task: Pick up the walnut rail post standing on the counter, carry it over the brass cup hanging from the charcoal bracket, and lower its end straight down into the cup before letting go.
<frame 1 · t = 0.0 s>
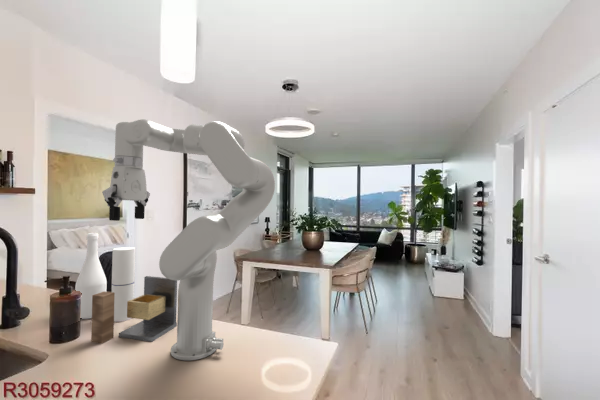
hand: (127, 219, 92), 37 cm above the countertop, tool pointing down, fingers open, 9 cm apart
wine bottle: (90, 315, 111), on the countertop
cylindrical container: (122, 318, 109), on the countertop
cup bracket: (149, 331, 98), on the countertop
rail post: (102, 340, 92), on the countertop
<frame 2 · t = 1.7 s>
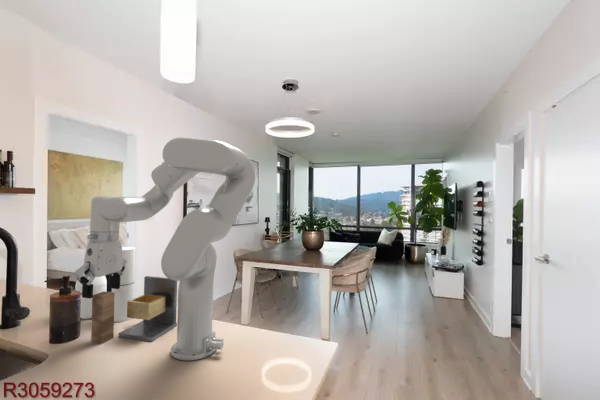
hand: (101, 292, 92), 14 cm above the countertop, tool pointing down, fingers open, 9 cm apart
nothing on the countertop moved.
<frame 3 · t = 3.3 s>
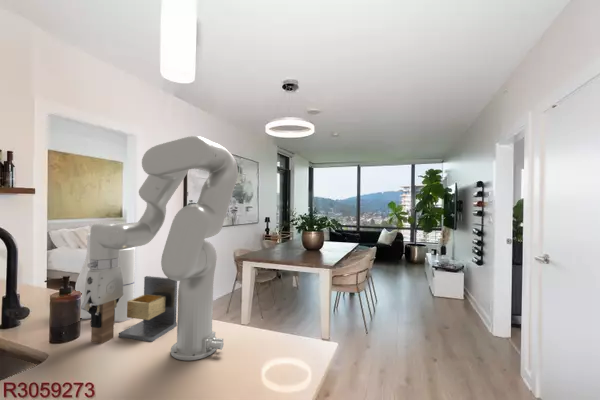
hand: (102, 323, 92), 5 cm above the countertop, tool pointing down, fingers closed on rail post, 4 cm apart
rail post: (102, 340, 92), on the countertop, touching gripper
everything else where it was.
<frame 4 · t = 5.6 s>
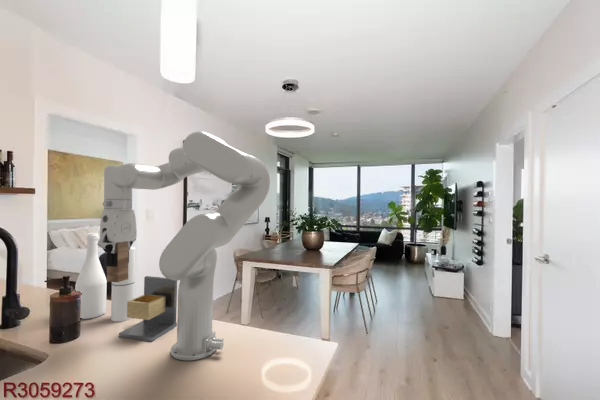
hand: (117, 264, 93), 23 cm above the countertop, tool pointing down, fingers closed on rail post, 4 cm apart
rail post: (117, 280, 93), point 18 cm above the countertop, touching gripper
everything else where it was.
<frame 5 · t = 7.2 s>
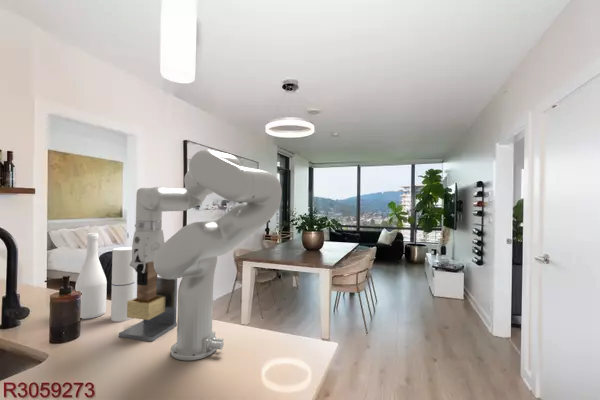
hand: (147, 282, 97), 16 cm above the countertop, tool pointing down, fingers closed on rail post, 4 cm apart
rail post: (146, 297, 97), point 11 cm above the countertop, touching gripper
everything else where it was.
when the fingers open (13 cm above the countertop, at t = 8.1 s): rail post drops 1 cm, resting on cup bracket.
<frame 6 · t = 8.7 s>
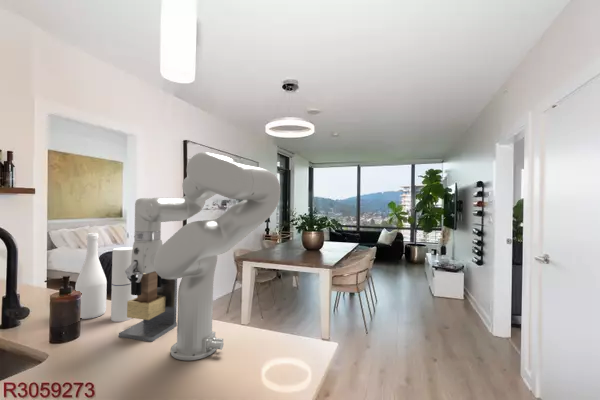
hand: (146, 290, 97), 14 cm above the countertop, tool pointing down, fingers open, 8 cm apart
rail post: (146, 311, 97), point 7 cm above the countertop, touching cup bracket
everything else where it was.
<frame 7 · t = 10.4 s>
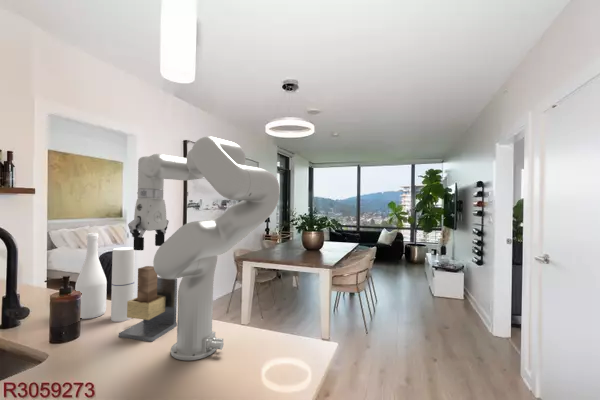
hand: (149, 247, 98), 27 cm above the countertop, tool pointing down, fingers open, 9 cm apart
nothing on the countertop moved.
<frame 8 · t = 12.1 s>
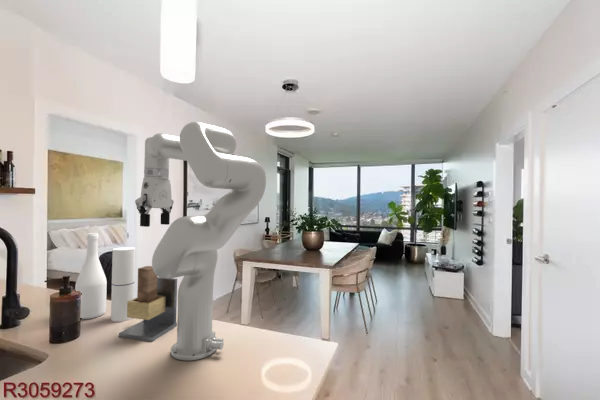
hand: (155, 225, 102), 34 cm above the countertop, tool pointing down, fingers open, 9 cm apart
nothing on the countertop moved.
at the end: rail post 0.1 cm from the target spot on the cup bracket, point 7.0 cm above the cup bracket's base; rail post tilted 0°; the gripper is holding nothing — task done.
